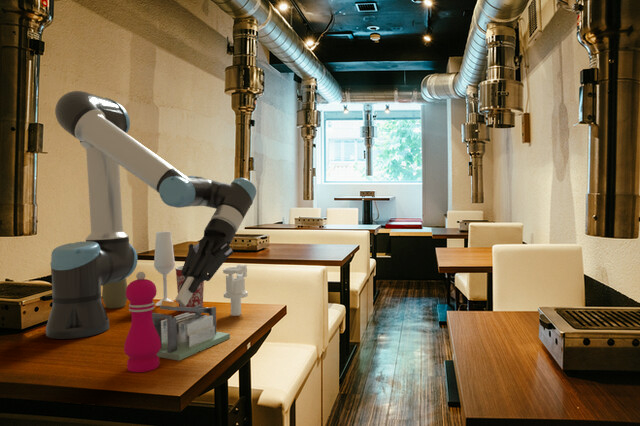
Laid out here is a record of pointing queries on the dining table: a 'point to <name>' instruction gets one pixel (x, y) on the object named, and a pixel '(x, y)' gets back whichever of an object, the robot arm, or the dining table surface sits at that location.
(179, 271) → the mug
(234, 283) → the white plastic part
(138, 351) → the pepper mill
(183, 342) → the grey blocky device
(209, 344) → the mainboard
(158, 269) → the champagne flute
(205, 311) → the grey bar
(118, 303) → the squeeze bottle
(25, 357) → the dining table surface
